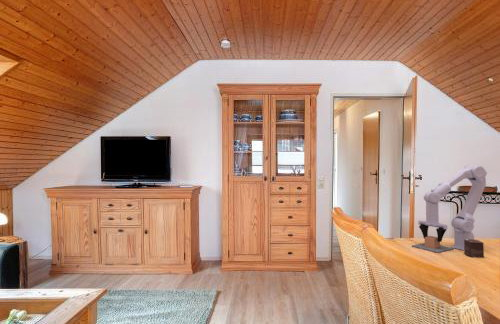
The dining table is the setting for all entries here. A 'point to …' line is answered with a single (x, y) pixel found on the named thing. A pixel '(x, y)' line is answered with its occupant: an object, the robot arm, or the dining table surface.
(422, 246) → the mat
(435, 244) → the cube
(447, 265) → the dining table surface
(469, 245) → the box
